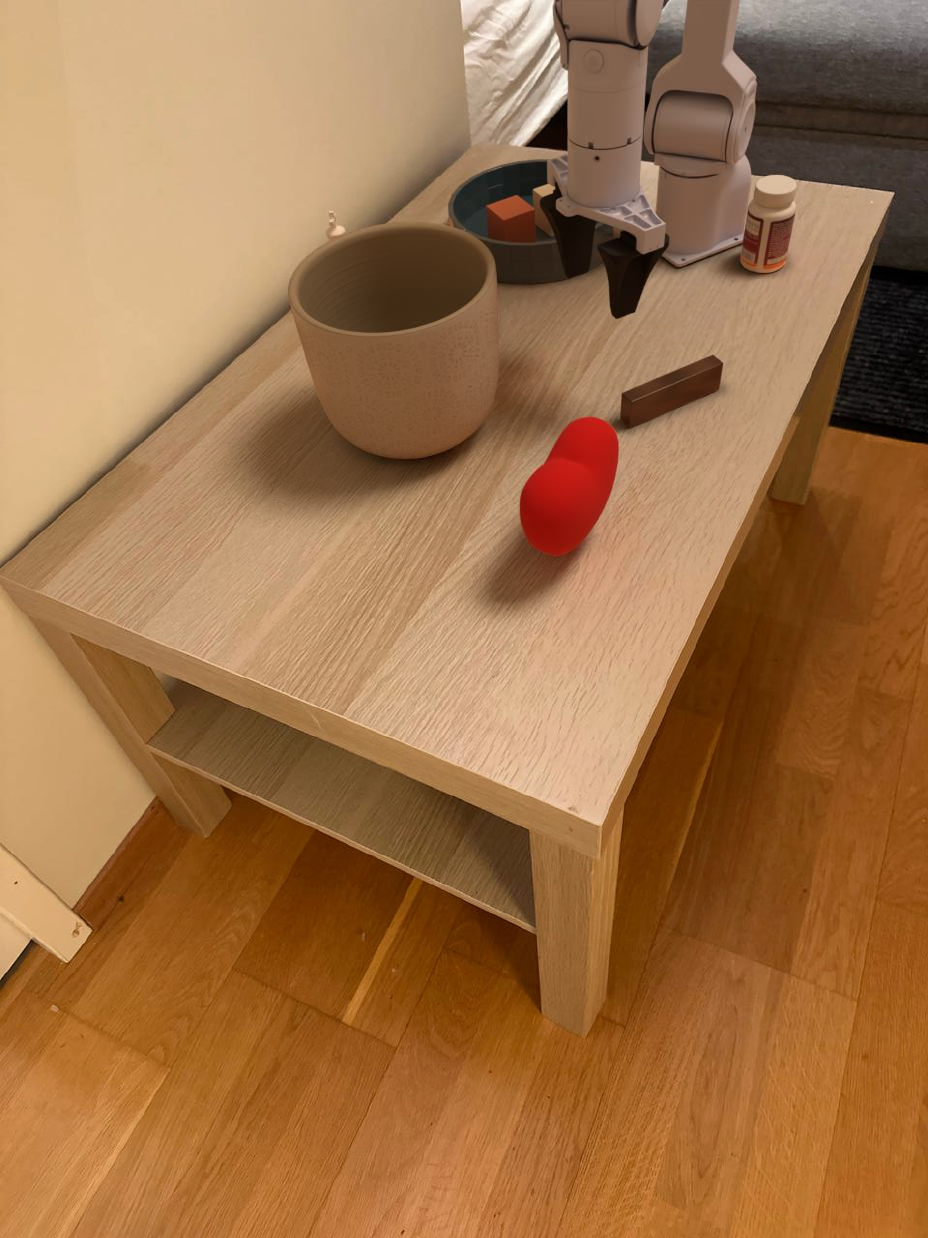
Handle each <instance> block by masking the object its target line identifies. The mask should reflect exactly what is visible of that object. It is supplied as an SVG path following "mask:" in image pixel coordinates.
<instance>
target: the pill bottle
mask: <svg viewBox="0 0 928 1238" xmlns="http://www.w3.org/2000/svg"><path fill="white" fill-rule="evenodd" d="M797 188H798V183H797V181H796V180H795V179H794V178H792V177H790V176H787V175H783V174H770V175H765V176H763V177H760V178H759V179H758V180H756V182H755V185H754V191H753V199H751V200H750V201H749V203H748V208H747V214H746V220H745V226H744V232H743V233H744V236H743V243H741V249H740V250H741V251H740V257H739V262H740V264H741V266H742V267H743V268H745V269H746V270H748V271H750V272H754V273H759V274H768V273H773V272H777V271H779V270H780V269H781V268H783V267H784V265H785V264H786V261H787V256H788V253H789V247H790V242H791V237H792V232H793V226H794V222H795V217H796V212H797V203H796V201H795V198H796V195H797Z"/></svg>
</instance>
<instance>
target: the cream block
mask: <svg viewBox="0 0 928 1238" xmlns="http://www.w3.org/2000/svg"><path fill="white" fill-rule="evenodd" d="M553 190H555V187H553V186H551V185H550V184H547V185H544V186H541V187H538V188H535V189H533V208H534V209H535V225H537V226H538V227H539V228H540V229H542V230H543V231H544V232H545V233H547V234H548V235H549V236H550V237H553V236H554V233H553V230H552V228H551V226H550V223H549V221H548V219H547V217H546V215H545V214H544V212H543V210H542V209H541V207H540V199H541V198H542V197H544V196H546V195H549V194H552V193H553Z"/></svg>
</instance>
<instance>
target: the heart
mask: <svg viewBox="0 0 928 1238" xmlns="http://www.w3.org/2000/svg"><path fill="white" fill-rule="evenodd" d="M619 454H620V443H619V437H618V434H617V432H616V430H615V428H614V427H613V426H612V424H610V423H609V422H607V421H606V420H604V419H603V418H599V417H597V416H582V417H579V418H576V419H575V420H573V421H571V422H570V423H569V424H567V425H566V426H565V427H564V429H563V430H562V431H561V433H560V434H559V436H558V437H557V438H556V440H555V442H554V444H553V446H552V447H551V449H550V452H549V453H548V455H547V456H546V459H545V460H544V462H543V464H541V465H540V466H539V467H537V469H536V470H534V471H533V473H531V475H530V476H529V477H528V479H527V480H526V481H525V483H524V485H523V486H522V489H521V491H520V497H519V519H520V524H521V528H522V531H523V534H524V536H525V538H526V540H527V541H528V543H529V544H530V545H531V546H532V547H533V548H534V549H535V550H537V551H539V552H541V554H542V553H543V554H545V555H549V556H555V557H556V556H557V557H559V556H563V555H566V554H569V553H570V552H572V551H573V550H575V549H576V548H577V547H578V546H579V545H580V544H582V542H583V541H584V540H585V539H586V537H587V536H588V535H589V534H590V532H591V531H592V530H593V528H594V527H595V526H596V524H597V522H598V521H599V519H600V518H601V515H602V514H603V512H604V511H605V508H606V507H607V503H608V501H609V499H610V497H611V494H612V490H613V488H614V484H615V480H616V475H617V470H618V464H619V456H620V455H619Z"/></svg>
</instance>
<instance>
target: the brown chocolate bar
mask: <svg viewBox="0 0 928 1238" xmlns="http://www.w3.org/2000/svg"><path fill="white" fill-rule="evenodd" d="M723 368H724V362H723V361H722V360H721V359H720V358H719V357H717V356H716V355H715V354H711V355H708V356H706V357H703V358H701V359H699V360H696V361H694V362H691V363H689V364H687V365H684V366H682V367H680V368H678V369H675V370H673V371H670V372H668V373H666V374H663V375H661V376H659V377H658V376H657V377H656V378H654V379H652V380H649V381H647V382H644V383H642V384H639V385H638V386H635V387H633V388H630V389H628V390H626V391H623V392H621V394H620V414H619V421H621V422H622V423H623V424H624V425H625V426H626V427H628V429H632V428H634V427H636V426H639V425H641V424H643V423H645V422H648V421H650V420H652V419H655V418H657V417H660V416H661V415H664V414H666V413H669V412H671V411H673V410H675V409H678V408H680V407H682V406H685V405H687V404H689V403H692V402H694V401H697V400H698V399H702V397H703V398H704V397H705V396H707V395H710V394H712V393H714V392H717V391H718V390H720V388H721V387H720V386H721V380H722V375H723Z"/></svg>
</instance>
